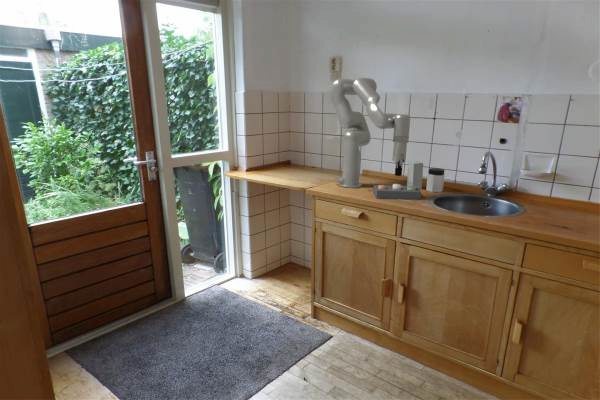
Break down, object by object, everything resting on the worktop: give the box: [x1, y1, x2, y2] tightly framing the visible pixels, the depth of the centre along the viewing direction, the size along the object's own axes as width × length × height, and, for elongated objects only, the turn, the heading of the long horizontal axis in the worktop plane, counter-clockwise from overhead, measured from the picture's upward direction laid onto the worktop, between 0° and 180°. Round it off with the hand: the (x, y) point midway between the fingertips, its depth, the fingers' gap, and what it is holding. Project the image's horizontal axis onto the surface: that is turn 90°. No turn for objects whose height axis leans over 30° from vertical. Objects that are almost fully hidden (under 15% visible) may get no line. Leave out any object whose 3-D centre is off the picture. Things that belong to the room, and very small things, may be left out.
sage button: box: [406, 185, 416, 190], centre depth 203 cm, size 4×4×4 cm
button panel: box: [373, 184, 422, 201], centre depth 203 cm, size 22×12×4 cm, turn 87°
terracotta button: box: [378, 184, 388, 189], centre depth 203 cm, size 4×4×4 cm
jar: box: [425, 167, 445, 193], centre depth 216 cm, size 9×8×12 cm
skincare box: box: [406, 160, 424, 190], centre depth 222 cm, size 8×6×15 cm
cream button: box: [392, 183, 402, 190], centre depth 203 cm, size 4×4×4 cm
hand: (398, 175), depth 201 cm, fingers closed
